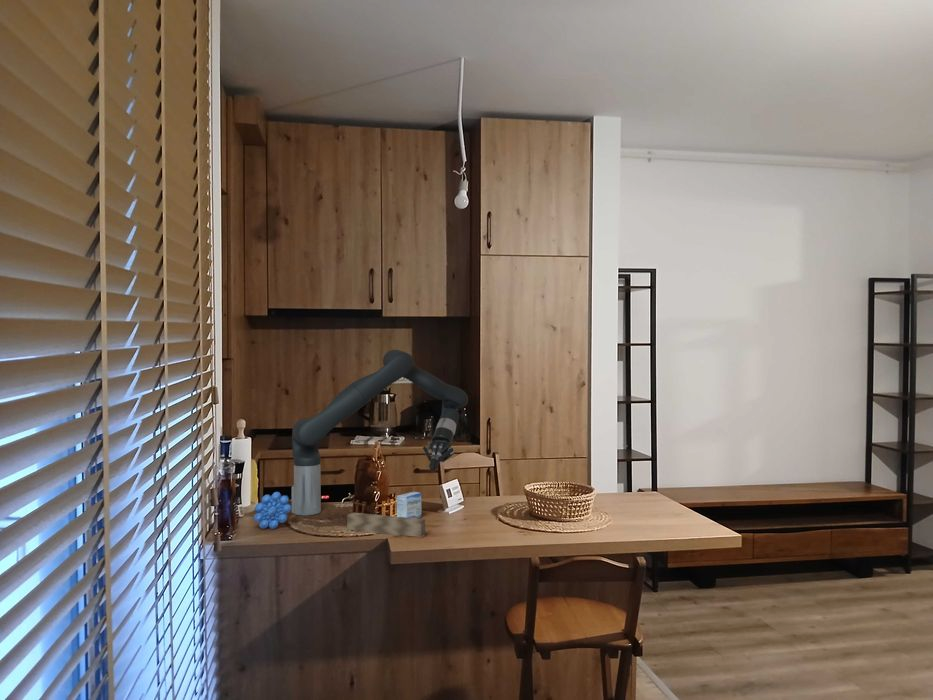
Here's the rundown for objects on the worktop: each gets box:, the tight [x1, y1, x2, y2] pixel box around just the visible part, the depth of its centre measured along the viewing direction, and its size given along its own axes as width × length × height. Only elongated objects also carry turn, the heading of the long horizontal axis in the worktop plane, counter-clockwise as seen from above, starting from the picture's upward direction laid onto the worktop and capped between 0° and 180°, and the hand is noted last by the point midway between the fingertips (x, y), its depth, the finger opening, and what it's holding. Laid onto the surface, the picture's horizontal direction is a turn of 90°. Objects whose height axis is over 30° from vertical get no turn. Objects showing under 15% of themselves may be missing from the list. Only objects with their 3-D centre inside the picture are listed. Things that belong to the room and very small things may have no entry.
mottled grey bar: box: [346, 511, 426, 538], centre depth 207 cm, size 26×3×5 cm, turn 70°
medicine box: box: [396, 491, 422, 518], centre depth 223 cm, size 8×4×9 cm, turn 143°
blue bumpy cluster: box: [253, 491, 292, 530], centre depth 212 cm, size 12×7×12 cm, turn 101°
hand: (432, 469), depth 242 cm, fingers closed
